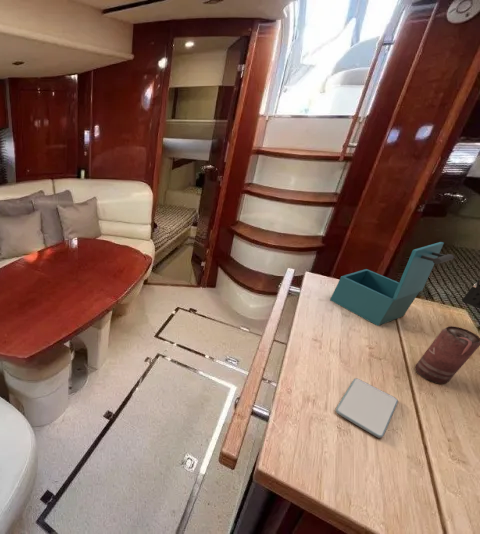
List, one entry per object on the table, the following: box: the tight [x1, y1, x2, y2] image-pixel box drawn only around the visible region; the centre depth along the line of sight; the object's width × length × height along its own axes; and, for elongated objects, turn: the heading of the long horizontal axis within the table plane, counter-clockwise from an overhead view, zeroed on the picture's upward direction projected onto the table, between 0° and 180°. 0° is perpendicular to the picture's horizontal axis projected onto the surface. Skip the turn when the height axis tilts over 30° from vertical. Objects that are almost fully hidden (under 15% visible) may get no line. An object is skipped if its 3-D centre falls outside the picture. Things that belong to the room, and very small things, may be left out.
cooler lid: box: [393, 241, 455, 300], centre depth 85 cm, size 15×13×5 cm
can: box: [414, 325, 480, 385], centre depth 74 cm, size 6×6×14 cm
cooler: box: [329, 268, 421, 327], centre depth 99 cm, size 15×13×10 cm
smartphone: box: [335, 378, 399, 439], centre depth 70 cm, size 8×1×15 cm
